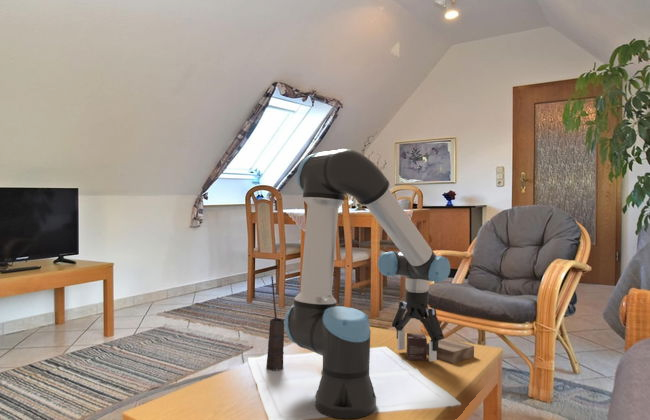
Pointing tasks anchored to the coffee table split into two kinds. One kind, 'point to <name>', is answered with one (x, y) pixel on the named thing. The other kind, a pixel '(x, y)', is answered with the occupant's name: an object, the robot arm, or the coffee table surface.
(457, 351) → the walnut block
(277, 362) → the butter churn
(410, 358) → the box
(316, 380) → the coffee table surface
